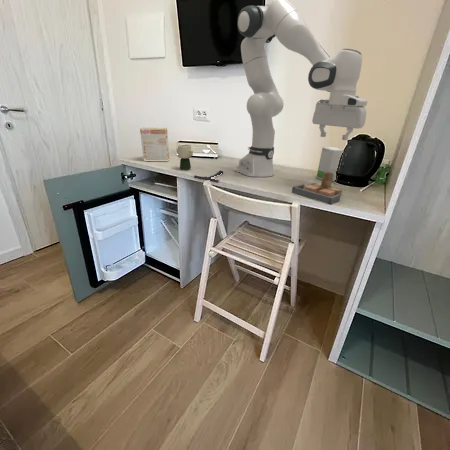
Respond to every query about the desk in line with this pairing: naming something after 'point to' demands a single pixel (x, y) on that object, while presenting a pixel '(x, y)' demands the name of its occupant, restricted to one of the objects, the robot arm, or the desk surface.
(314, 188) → the tile left
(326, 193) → the tile right
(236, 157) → the desk surface
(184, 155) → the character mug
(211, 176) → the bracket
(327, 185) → the wooden toy blocks
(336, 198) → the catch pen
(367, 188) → the desk surface
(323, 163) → the skincare box
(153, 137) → the coffeecake box
